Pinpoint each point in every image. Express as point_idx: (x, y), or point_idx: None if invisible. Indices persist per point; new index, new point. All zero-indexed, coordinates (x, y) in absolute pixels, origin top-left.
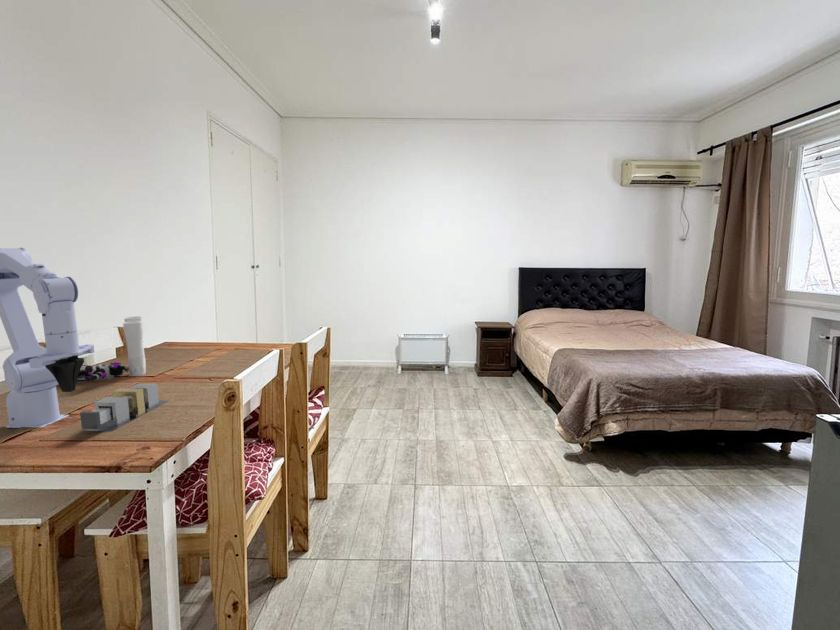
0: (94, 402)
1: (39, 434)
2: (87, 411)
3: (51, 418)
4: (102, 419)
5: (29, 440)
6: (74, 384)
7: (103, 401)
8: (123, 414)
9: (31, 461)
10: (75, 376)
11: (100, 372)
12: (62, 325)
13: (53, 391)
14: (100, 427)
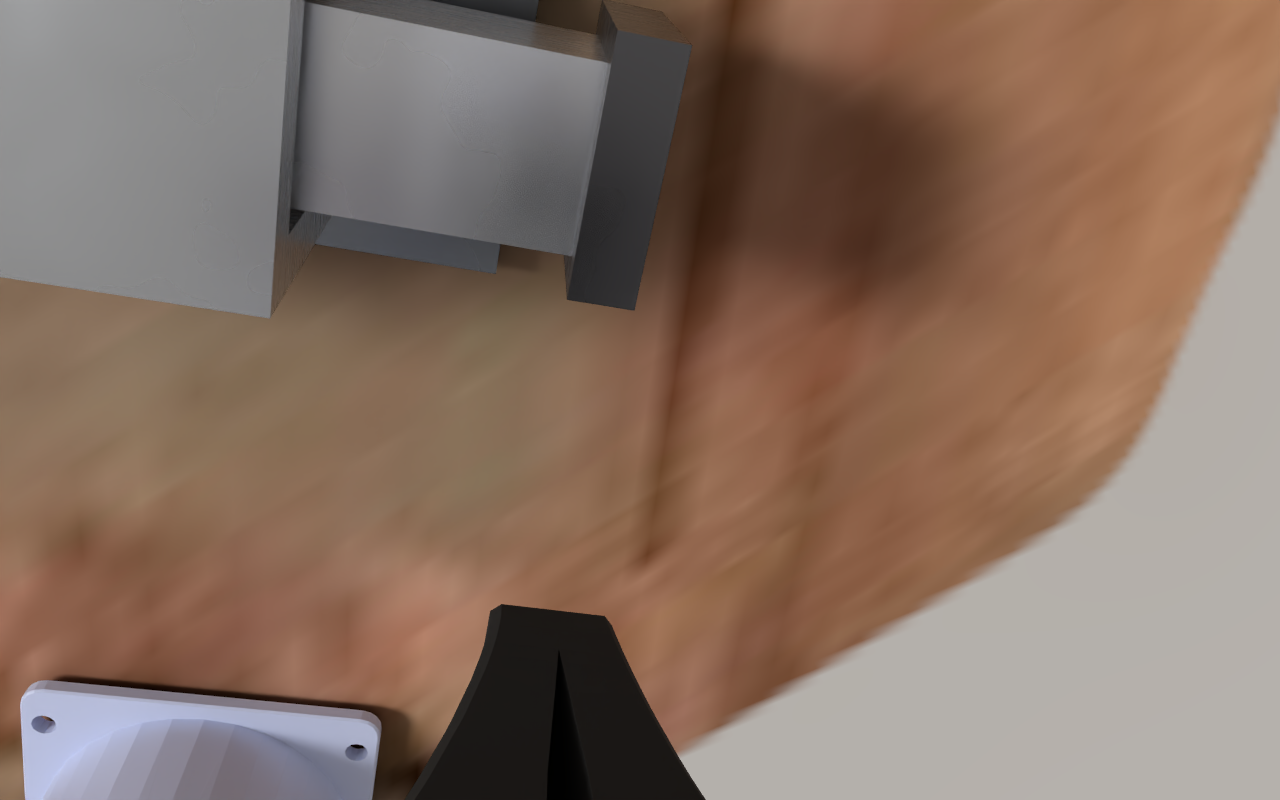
0: (269, 316)
1: None
2: (586, 233)
3: (228, 751)
4: (518, 29)
5: (638, 641)
6: (532, 669)
7: (229, 182)
8: None
9: (1146, 324)
10: (513, 786)
11: None
12: None
13: None
14: (609, 3)
